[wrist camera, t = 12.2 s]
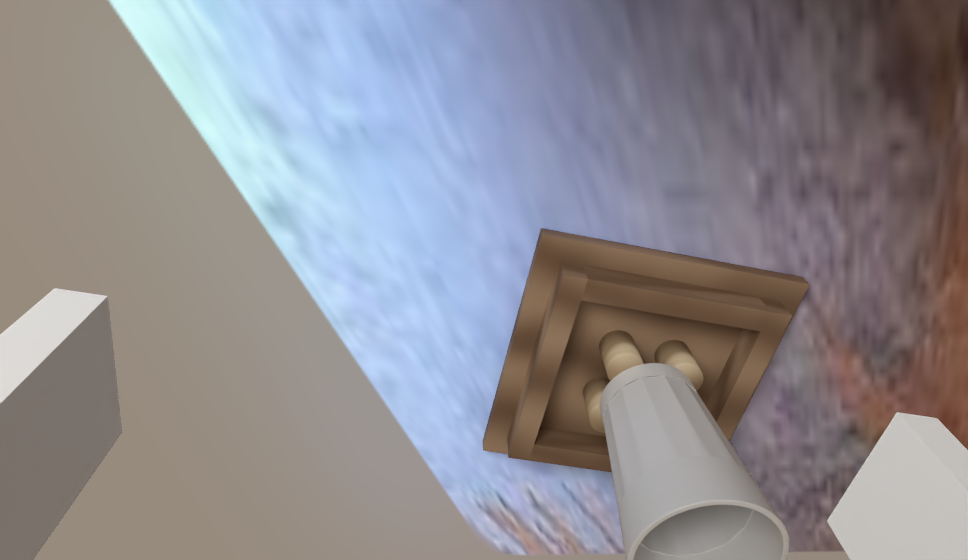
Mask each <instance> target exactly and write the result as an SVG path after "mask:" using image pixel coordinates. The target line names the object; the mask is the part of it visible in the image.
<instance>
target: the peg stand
mask: <svg viewBox="0 0 968 560" xmlns="http://www.w3.org/2000/svg"><path fill="white" fill-rule="evenodd" d="M809 285H810V284H809V283H808V282H807V281H806V280H805V279H804V278H803V277H799V276H794V275H788V274H783V273H778V272H772V271H767V270H762V269H756V268H751V267H746V266H740V265H735V264H730V263H724V262H719V261H713V260H708V259H703V258H697V257H692V256H687V255H681V254H676V253H671V252H665V251H660V250H655V249H649V248H644V247H639V246H633V245H628V244H623V243H617V242H612V241H607V240H601V239H596V238H590V237H585V236H580V235H574V234H569V233H564V232H558V231H553V230H548V229H542V228H541V231H540V235H539V238H538V242H537V245H536V249H535V253H534V256H533V260H532V264H531V267H530V271H529V275H528V278H527V282H526V286H525V289H524V293H523V296H522V300H521V304H520V307H519V311H518V315H517V318H516V322H515V326H514V329H513V333H512V336H511V340H510V344H509V347H508V351H507V355H506V358H505V362H504V366H503V369H502V373H501V376H500V380H499V384H498V387H497V391H496V395H495V398H494V402H493V406H492V409H491V413H490V416H489V420H488V424H487V427H486V431H485V435H484V438H483V450H485V451H492V452H499V453H506V454H508V457H509V458H516V459H523V460H530V461H537V462H544V463H551V464H558V465H565V466H572V467H579V468H586V469H593V470H600V471H607V472H612V469H611V463H610V457H609V452H608V446H607V440H606V434H605V428H604V424H603V421H602V417H601V414H600V407H599V406H600V398H601V395H602V393H603V391H604V389H605V387H606V386H607V385H608V383H609V382H610V381H611V380H612V379H613V378H614V377H616V376H617V375H618V374H620V373H621V372H623V371H625V370H627V369H629V368H631V367H634V366H637V365H641V364H647V363H661V364H667V365H670V366H673V367H676V368H678V369H679V370H681V371H682V372H684V373H685V374H686V375H687V376H688V377H689V378H690V380H691V381H692V383H693V385H694V387H695V389H696V391H697V393H698V395H699V396H700V398H701V399H702V401H703V403H704V404H705V406H706V407H707V409H708V410H709V412H710V413H711V415H712V416H713V418H714V420H715V421H716V423H717V424H718V426H719V427H720V429H721V430H722V432H723V433H724V435H725V436H726V438H727V440H728V441H730V439H731V437H732V435H733V433H734V431H735V429H736V427H737V425H738V423H739V421H740V419H741V417H742V415H743V413H744V411H745V409H746V407H747V406H748V404H749V402H750V400H751V398H752V396H753V394H754V392H755V390H756V388H757V386H758V384H759V382H760V380H761V378H762V376H763V374H764V372H765V370H766V368H767V367H768V365H769V363H770V361H771V359H772V357H773V355H774V353H775V351H776V349H777V347H778V345H779V343H780V341H781V339H782V337H783V335H784V333H785V331H786V329H787V328H788V326H789V324H790V322H791V320H792V318H793V316H794V314H795V312H796V310H797V308H798V306H799V304H800V302H801V300H802V298H803V296H804V294H805V292H806V290H807V289H808V287H809Z"/></svg>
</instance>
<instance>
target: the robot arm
mask: <svg viewBox="0 0 968 560" xmlns="http://www.w3.org/2000/svg"><path fill="white" fill-rule="evenodd" d="M118 399H119V398H118V389H117V379H116V370H115V360H114V351H113V341H112V333H111V323H110V313H109V304H108V296H103V295H96V294H90V293H83V292H76V291H69V290H62V289H53V290H52V291H51V292H50V293H49V294H47V295H46V296H45V297H44V298H43V299H42V300H41V301H39V302H38V303H37V304H36V305H35V306H33V307H32V308H31V309H30V310H29V311H28V312H26V313H25V314H24V315H23V316H22V317H21V318H19V319H18V320H17V321H16V322H15V323H13V324H12V325H11V326H10V327H9V328H8V329H6V330H5V331H4V332H3V333H2V334H1V335H0V560H33V559H34V558H35V556H36V555H37V554H38V552H39V551H40V549H41V548H42V546H43V545H44V544H45V542H46V541H47V539H48V537H49V536H50V535H51V533H52V532H53V531H54V529H55V528H56V526H57V525H58V524H59V522H60V521H61V519H62V518H63V516H64V515H65V513H66V512H67V511H68V509H69V508H70V506H71V505H72V503H73V502H74V501H75V499H76V498H77V496H78V495H79V493H80V492H81V491H82V489H83V488H84V486H85V485H86V483H87V482H88V480H89V479H90V478H91V476H92V475H93V473H94V472H95V470H96V469H97V467H98V466H99V465H100V463H101V462H102V460H103V459H104V458H105V456H106V455H107V453H108V452H109V450H110V449H111V447H112V446H113V445H114V443H115V442H116V440H117V439H118V438H119V436H120V435H121V433H122V426H121V417H120V407H119V400H118ZM827 522H828V524H829V525H830V527H831V529H832V530H833V532H834V534H835V535H836V537H837V539H838V540H839V542H840V544H841V545H842V547H843V549H844V550H845V552H846V553H847V555H848V557H849V558H850V560H968V450H967V449H966V448H965V447H964V446H963V445H962V444H961V443H960V442H959V441H958V440H957V439H956V438H955V437H954V436H953V434H952V433H951V432H950V431H949V430H948V429H947V428H946V427H945V426H944V425H943V424H942V423H941V422H940V421H939V420H938V419H937V418H932V417H926V416H919V415H912V414H905V413H898V412H897V413H896V414H895V416H894V418H893V419H892V421H891V422H890V424H889V425H888V427H887V428H886V430H885V432H884V433H883V435H882V436H881V438H880V439H879V441H878V442H877V444H876V445H875V447H874V449H873V450H872V452H871V453H870V455H869V456H868V458H867V459H866V461H865V463H864V464H863V466H862V467H861V469H860V470H859V472H858V473H857V475H856V477H855V478H854V480H853V481H852V483H851V484H850V486H849V487H848V489H847V491H846V492H845V494H844V495H843V497H842V498H841V500H840V501H839V503H838V505H837V506H836V508H835V509H834V511H833V512H832V514H831V515H830V517H829V518H828V520H827Z"/></svg>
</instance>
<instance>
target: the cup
mask: <svg viewBox="0 0 968 560" xmlns="http://www.w3.org/2000/svg"><path fill="white" fill-rule="evenodd" d="M599 407H600V414H601V417H602V421H603V424H604V428H605V434H606V440H607V446H608V452H609V457H610V463H611V469H612V475H613V481H614V487H615V493H616V499H617V504H618V510H619V518H620V525H621V532H622V538H623V545H624V552H625V558H626V560H786V559H787V556H788V552H789V536H788V532H787V530H786V528H785V526H784V524H783V523H782V521H781V520H780V518H779V517H778V515H777V514H776V512H775V511H774V509H773V508H772V506H771V505H770V503H769V502H768V500H767V499H766V497H765V496H764V494H763V493H762V491H761V490H760V488H759V487H758V486H757V484H756V483H755V481H754V480H753V478H752V477H751V475H750V474H749V472H748V470H747V469H746V467H745V466H744V464H743V463H742V461H741V460H740V458H739V457H738V455H737V453H736V452H735V450H734V449H733V447H732V446H731V444H730V443H729V441H728V440H727V438H726V436H725V435H724V433H723V432H722V430H721V429H720V427H719V426H718V424H717V423H716V421H715V420H714V418H713V416H712V415H711V413H710V412H709V410H708V409H707V407H706V406H705V404H704V403H703V401H702V399H701V398H700V396H699V395H698V393H697V391H696V389H695V387H694V385H693V383H692V381H691V380H690V378H689V377H688V376H687V375H686V374H685V373H684V372H682V371H681V370H679V369H678V368H676V367H673V366H670V365H667V364H661V363H647V364H641V365H637V366H634V367H631V368H629V369H627V370H625V371H623V372H621V373H620V374H618V375H617V376H616V377H614V378H613V379H612V380H611V381H610V382H609V383H608V385H607V386H606V387H605V389H604V391H603V393H602V395H601V398H600V406H599Z"/></svg>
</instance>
